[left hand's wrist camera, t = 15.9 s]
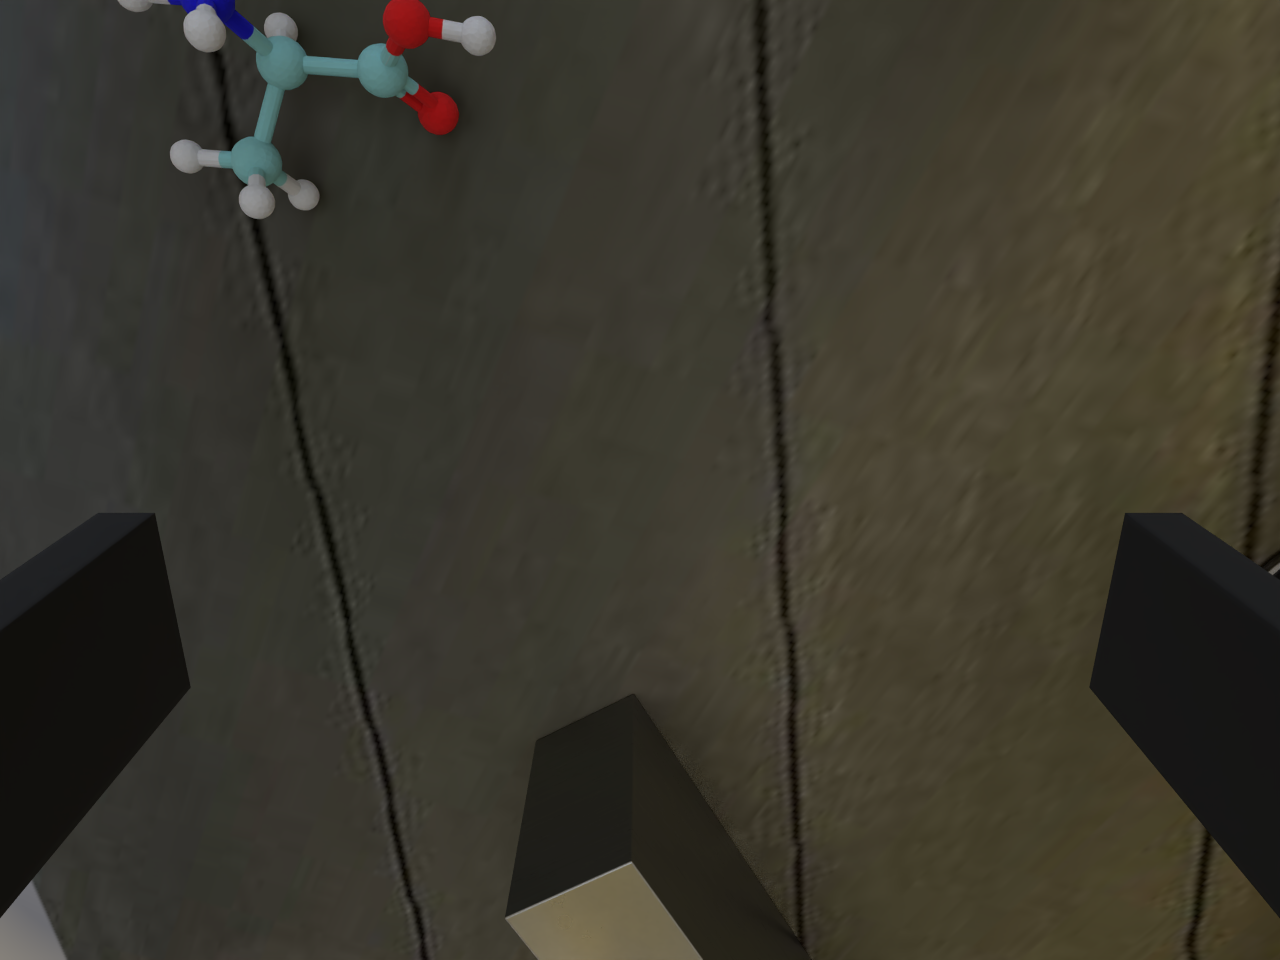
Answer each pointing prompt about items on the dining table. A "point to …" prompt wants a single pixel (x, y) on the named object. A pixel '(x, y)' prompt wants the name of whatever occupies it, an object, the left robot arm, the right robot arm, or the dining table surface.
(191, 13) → the molecular model
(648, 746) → the box
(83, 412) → the dining table surface
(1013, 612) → the dining table surface
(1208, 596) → the left robot arm
